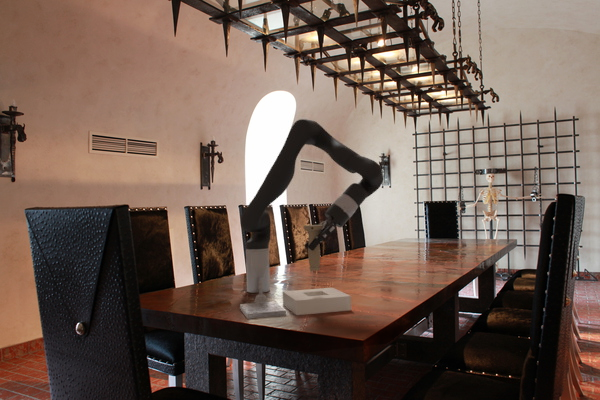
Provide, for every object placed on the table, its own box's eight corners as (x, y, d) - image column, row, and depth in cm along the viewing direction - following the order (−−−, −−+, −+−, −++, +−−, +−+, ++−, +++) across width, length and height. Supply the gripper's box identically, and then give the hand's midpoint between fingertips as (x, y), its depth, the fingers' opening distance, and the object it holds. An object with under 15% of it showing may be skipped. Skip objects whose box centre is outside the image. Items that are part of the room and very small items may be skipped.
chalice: (273, 299, 174) (272, 250, 175) (267, 303, 168) (265, 251, 168) (254, 299, 176) (253, 250, 177) (248, 303, 170) (246, 252, 170)
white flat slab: (240, 308, 160) (239, 304, 160) (275, 305, 163) (275, 301, 163) (247, 318, 145) (247, 313, 145) (286, 315, 148) (286, 310, 148)
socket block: (283, 304, 165) (282, 291, 165) (332, 300, 170) (332, 287, 170) (296, 315, 148) (295, 300, 148) (351, 310, 152) (350, 296, 152)
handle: (323, 271, 156) (321, 225, 156) (303, 271, 158) (302, 225, 158) (325, 269, 161) (324, 224, 161) (306, 269, 162) (305, 225, 163)
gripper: (327, 203, 168) (294, 239, 165) (341, 202, 155) (306, 242, 151) (341, 217, 170) (310, 254, 166) (357, 218, 156) (322, 258, 153)
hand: (308, 248), depth 159 cm, fingers closed on handle, 3 cm apart
